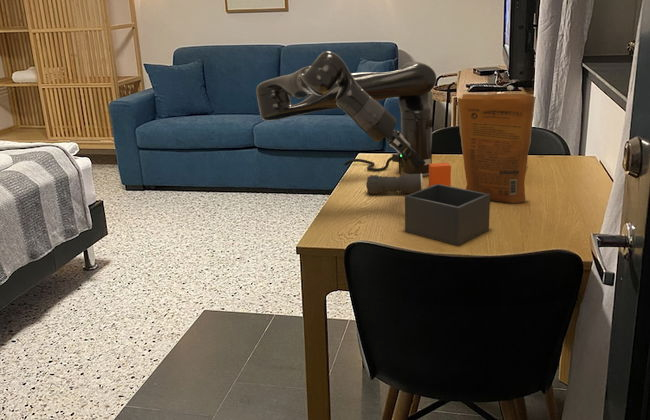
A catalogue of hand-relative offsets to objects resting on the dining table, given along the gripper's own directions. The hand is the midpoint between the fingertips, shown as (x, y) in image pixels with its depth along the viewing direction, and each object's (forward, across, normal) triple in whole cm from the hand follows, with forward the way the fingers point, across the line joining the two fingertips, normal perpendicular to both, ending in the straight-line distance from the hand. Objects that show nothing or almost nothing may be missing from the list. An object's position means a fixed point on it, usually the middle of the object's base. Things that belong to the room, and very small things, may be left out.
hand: (419, 161), depth 166 cm
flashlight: (+6, -13, -12) cm, 18 cm away
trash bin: (+11, +18, -6) cm, 22 cm away
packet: (+12, 0, -5) cm, 13 cm away
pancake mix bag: (+23, -3, +6) cm, 24 cm away
